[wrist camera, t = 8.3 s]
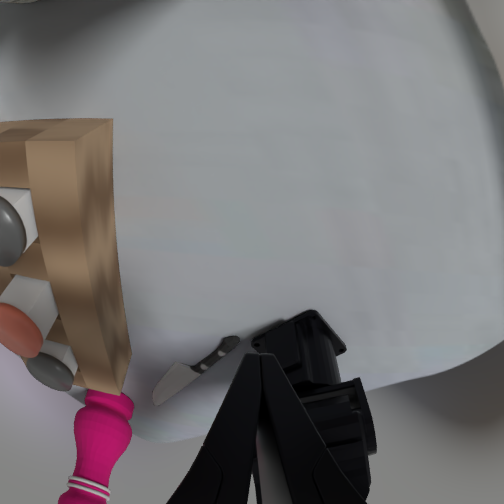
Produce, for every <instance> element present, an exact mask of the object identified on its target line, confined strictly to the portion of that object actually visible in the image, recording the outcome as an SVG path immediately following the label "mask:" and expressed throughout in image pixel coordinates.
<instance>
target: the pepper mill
mask: <svg viewBox="0 0 504 504" xmlns="http://www.w3.org/2000/svg"><path fill="white" fill-rule="evenodd" d="M85 404H86V406H85V407H83V408H81V409H80V410H79V411H78V412H77V413H76V416H75V421H74V434H75V441H76V447H77V460H76V466H75V470H74V473H73V476H69V477H68V479H69V481H68V482H69V483H67V486H68V487H69V490H68V491H67V492H65V493H63V494H62V495H61V496H60V498H59V500H58V504H106V501H109V500H110V498H109V495H110V493H111V490H110V489H108V484H109V477H110V474H111V470H112V468H113V466H114V464H115V463H116V461H117V460H118V459H119V457H120V456H121V455H122V454H123V453H124V451H125V450H126V448H127V446H128V445H129V443H130V440H131V437H132V429H131V426H130V425H129V423H128V420H130V419H131V418H132V414H133V409H134V404H133V402H132V401H131V399H130V398H129V397H127V396H126V395H125V394H123V393H121V394H120V396H118V395H114V394H109V393H105V392H101V391H96V390H92V389H88V392H87V395H86V398H85Z"/></svg>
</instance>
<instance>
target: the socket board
mask: <svg viewBox="0 0 504 504" xmlns="http://www.w3.org/2000/svg"><path fill="white" fill-rule="evenodd" d="M112 145H113V119H98V118H75V119H40V120H22V121H9V122H0V187H16V188H30V190H31V197H32V203H33V209H34V215H35V221H36V226H37V231H38V237H37V238H36V239H35V240H34V241H33V243H32V244H31V245H30V246H29V247H28V248H27V250H26V251H25V252H24V253H23V254H22V255H21V256H20V257H19V259H18V260H17V261H16V262H15V263H14V264H13V265H11V266H8V267H3V266H0V296H1V294H2V293H3V292H4V290H5V289H6V287H7V286H8V285H9V283H10V282H11V281H12V279H13V278H14V277H15V275H20V276H25V277H29V278H34V279H39V280H44V281H49V282H50V285H51V288H52V292H53V295H54V298H55V302H56V305H57V308H58V311H59V314H58V316H57V318H56V320H55V322H54V323H53V325H52V327H51V329H50V331H49V333H48V335H47V337H46V339H45V340H49V341H53V342H57V343H60V344H64V345H68V346H71V349H72V351H73V354H74V356H75V359H76V361H77V364H78V368H77V371H76V373H75V376H74V382H73V385H77V386H81V387H84V388H88V389H92V390H96V391H101V392H105V393H109V394H114V395H118V396H120V394H121V390H122V386H123V383H124V379H125V376H126V372H127V369H128V365H129V362H130V359H131V355H132V352H131V347H130V341H129V335H128V330H127V323H126V317H125V311H124V304H123V296H122V289H121V281H120V272H119V263H118V253H117V242H116V230H115V215H114V196H113V155H112ZM21 358H22V360H23V362H24V363H25V365H26V362H27V360H28V358H27V357H23V356H21ZM26 367H27V366H26Z"/></svg>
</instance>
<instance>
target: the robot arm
mask: <svg viewBox="0 0 504 504" xmlns="http://www.w3.org/2000/svg"><path fill="white" fill-rule="evenodd" d="M311 316H313V317H311ZM251 346H252V347H253V348H254V349H255V350H256V351H257V352H259V353H260V355H259V354H258V353H252V352H246V353H245V355H244V357H243V359H242V361H241V364H240V366H239V368H238V370H237V372H236V374H235V377H234V379H233V381H232V383H231V385H230V388H229V390H228V392H227V394H226V396H225V398H224V401H223V403H222V405H221V407H220V409H219V411H218V413H217V415H216V418H215V420H214V422H213V424H212V426H211V428H210V430H209V432H208V434H207V436H206V439H205V441H204V443H203V446H201V449H200V451H199V453H198V455H197V457H196V459H195V461H194V462H193V464H192V466H191V468H190V470H189V471H188V473H187V474H186V476H185V478H184V479H183V481H182V482H181V484H180V485H179V487H178V488H177V489H176V491H175V492H174V493H173V495H172V496H171V498H170V499H169V500H168V502H167V503H166V504H247V501H248V494H249V487H250V479H251V474H253V478H254V483H255V489H256V499H257V504H367V503H366V498H367V496H368V494H369V487H370V484H371V476H370V468H369V461H368V455H373V454H376V452H377V445H376V436H375V430H374V424H373V420H372V416H371V412H370V409H369V405H368V402H367V399H366V395H365V392H364V389H363V386H362V383H361V380H360V377H358V378H354V379H353V380H351V381H347V382H342V383H341V378H340V374H339V369H338V364H337V360H336V356H338V355H340V354H342V353H344V352H346V350H347V349H346V345H345V344H344V343H343V341H342V340H341V339H340V338H339V337H338V335H337V334H336V333H335V332H334V331H333V329H332V328H331V327H330V326H329V325H328V323H327V322H326V321H325V320H324V319H323V318H322V316H321V315H320V314H319V313H318V312H317V311H316V310H311V311H308V312H307V313H305V314H303V315H301V316H299V317H297V318H295V319H293V320H291V321H289V322H287V323H285V324H283V325H281V326H279V327H277V328H275V329H272V330H270V331H268V332H266V333H264V334H262V335H260V336H258V337H256V338H254V339H252V341H251Z"/></svg>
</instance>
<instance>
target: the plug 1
mask: <svg viewBox="0 0 504 504" xmlns="http://www.w3.org/2000/svg"><path fill="white" fill-rule="evenodd" d="M37 237H38V231H37V226H36V221H35V215H34V209H33V203H32V197H31V190H30V188H16V187H0V266H3V267H8V266H11V265H13V264H14V263H15V262H16V261H17V260H18V259H19V257H20V256H21V255H22V254H23V253H24V252H25V251H26V250H27V248H28V247H29V246H30V245H31V244H32V243H33V241H34V240H35V239H36V238H37Z"/></svg>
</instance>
